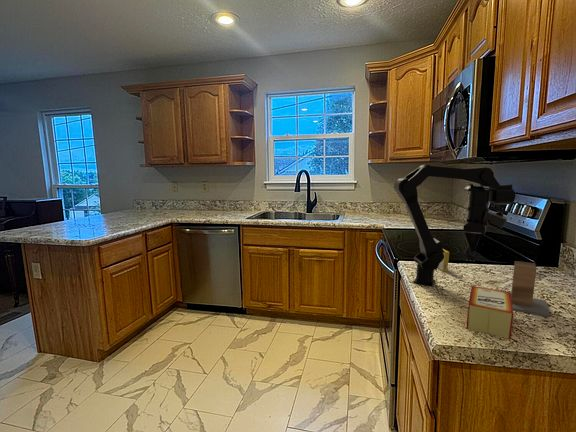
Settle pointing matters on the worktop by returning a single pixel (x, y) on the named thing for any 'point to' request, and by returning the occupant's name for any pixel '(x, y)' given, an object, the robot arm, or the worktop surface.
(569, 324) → the worktop surface
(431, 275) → the robot arm
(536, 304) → the charcoal mat
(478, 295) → the baking soda box
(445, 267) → the candy box
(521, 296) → the walnut block
